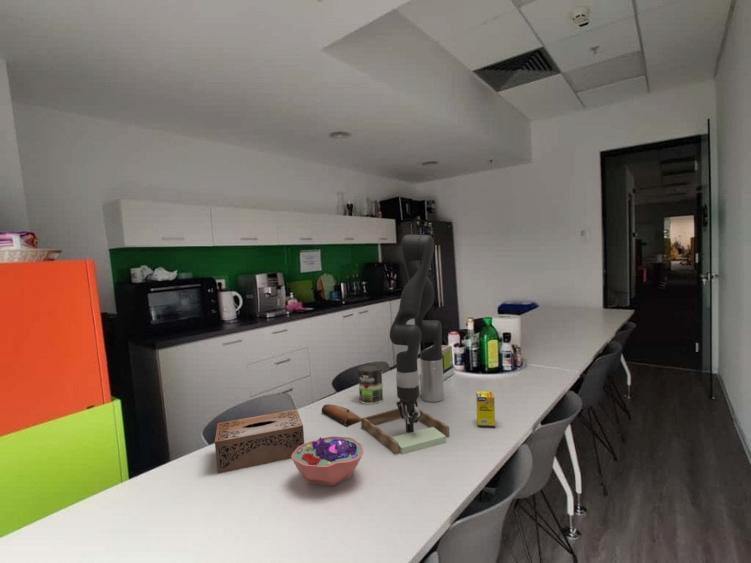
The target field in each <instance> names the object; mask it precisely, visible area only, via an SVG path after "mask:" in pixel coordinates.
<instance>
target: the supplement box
mask: <svg viewBox="0 0 751 563" xmlns="http://www.w3.org/2000/svg"><path fill="white" fill-rule="evenodd" d="M475 396H476V397H475V398H476V401H475V402H476V422H477V427H478V428H491V429H492V428H496V416H495V415H496V412H495V411H496V410H495V408H496V407H495V394H494V391H484V390H483V391H482V390H481V391H480V390H479V391H478V390H476V392H475Z"/></svg>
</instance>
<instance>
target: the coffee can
mask: <svg viewBox="0 0 751 563" xmlns="http://www.w3.org/2000/svg"><path fill="white" fill-rule="evenodd" d="M357 371H358V372H357V373H358V387H359V390H358V391H359V402H360V403H361V404H364V405H375V404H380V403H382V402H383V401H384V390H383V389H384V388H383V387H384V386H383V385H384V384H383V367H382V365H379V364H364V365H360V366H359V367H358V368H357Z"/></svg>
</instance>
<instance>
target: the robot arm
mask: <svg viewBox="0 0 751 563" xmlns="http://www.w3.org/2000/svg"><path fill="white" fill-rule="evenodd" d="M434 241H435V240H434V238H433V236H431V235H430V234H406V235H404V236H403V237H402V239H401V243H400V244H401V246H400V249H401V254H402V255H401V256H402V260H403V263H404V267H405V270H406V274H407V281H408V282H407V283H406V284H405V286H404V288H403V289H402V292H401V295H400V301H399V306H398V311H397V314H396V316H395V317H394V321H393V323H392V324H391V326H390V328H389V329H390V330H389V339H390V343H391V342H392V344H394V345H397V346H406V347H407V349H406V350H404V351H400V352H398V353H397V354H396V356H395V362H396V375H395V379H396V393H397V394H396V397H397V398H398V399H399V401H395V402H396V403H395V404H396V407H397V409H399V412H400V415H401V417H402V418H401V419H403V420H404V423H405V434H406V433H410V432H414V431H415V429H414V428H415V426H414V424H416V423H419V422H420V421H419V419H420V417H421V415H422V411H423V410H421V411H419V410H420V409H419V408H418V407H419V406H418V399H419V397H421V399H422V400H423V401H426V402H430V403H438V402H441V401H443V400H444V399H445V394H444V389H445V387H444V381H443V362H442V345H443V344H442V343H443V339H442V338H443V327H442V326H443V325H442V323H441V321H440V320H436V319H434V320H431V319H430V320H424V318H425V315H426V314H427V312H428V311H429V310H430V309H431V308H432V306H433V304H434V301H435V291H434V284H433V282H432V281H431V279H430V278H429V276H428V275H429V271H430V267H431V263H432V260H433V257H434V253H435V252H434V251H435V243H434ZM418 262H420V263H419V264H418ZM410 320H414V324H408V322H409V321H410ZM421 343H429V344H430V343H433V344H432V345H431V346H432V347H431V346H429V347H430V348H429V347H427V348H428V349H427V348H425V349H423V350H421V351H420V352H419V349H420V344H421ZM419 354H420V355H419ZM418 355H419V358H420V376H419V371H418V370H419V369H418ZM418 409H419V410H418Z"/></svg>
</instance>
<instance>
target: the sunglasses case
mask: <svg viewBox="0 0 751 563" xmlns="http://www.w3.org/2000/svg"><path fill="white" fill-rule="evenodd" d="M321 413H322V414H324V415H327V416H330V417H331V418H333V419H335V420H336V421H338V422H340V423H342V424H344V425H345V426H347V427H351V426H353V425H355V424H358V423H361V418H362V417H360V416H359V415H358V414H356V413H354V412H352V410H350V409H349V408H347V407H345V406H340V405H337V404H324V405H323V406H322V408H321Z"/></svg>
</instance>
